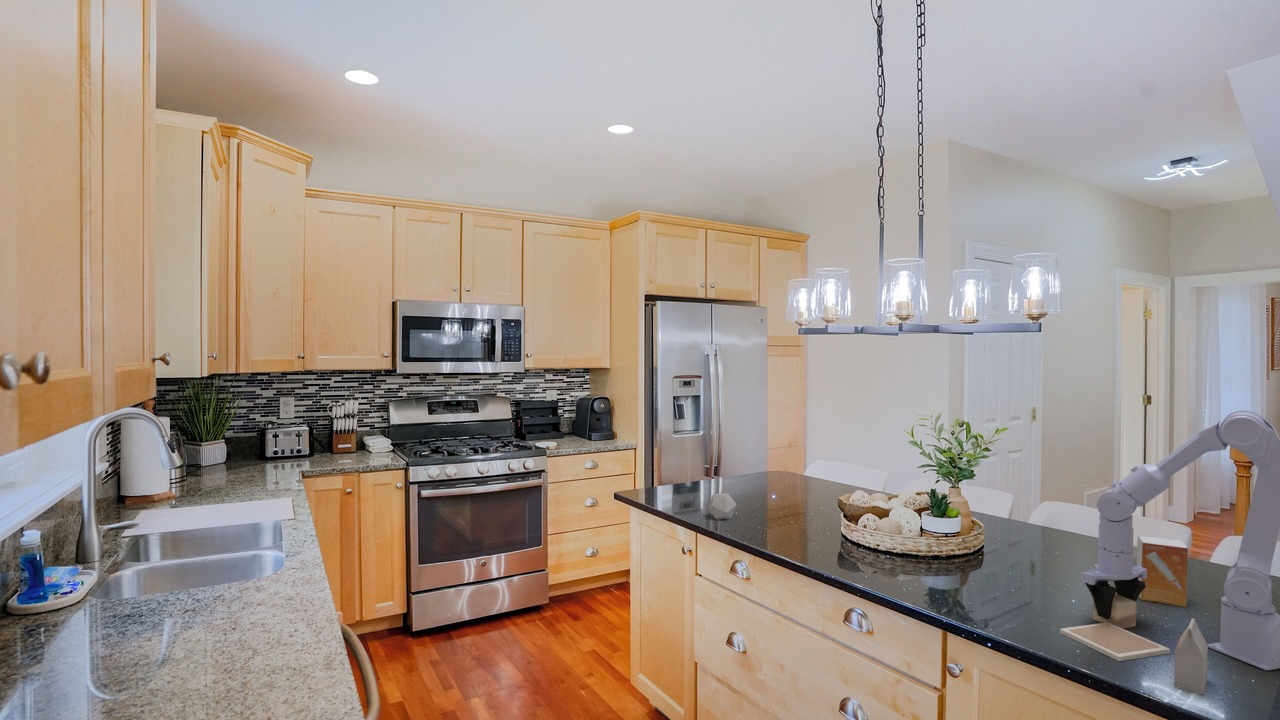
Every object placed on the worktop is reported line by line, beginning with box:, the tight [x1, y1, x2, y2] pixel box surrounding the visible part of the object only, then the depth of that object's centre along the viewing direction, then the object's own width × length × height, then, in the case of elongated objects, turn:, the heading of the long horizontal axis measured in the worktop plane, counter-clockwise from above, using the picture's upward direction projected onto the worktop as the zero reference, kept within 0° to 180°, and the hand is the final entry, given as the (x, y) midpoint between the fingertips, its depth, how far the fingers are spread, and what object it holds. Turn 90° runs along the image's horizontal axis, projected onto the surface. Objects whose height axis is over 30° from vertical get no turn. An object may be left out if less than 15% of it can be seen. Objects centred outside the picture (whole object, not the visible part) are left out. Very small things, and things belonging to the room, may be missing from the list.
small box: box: [1136, 535, 1189, 608], centre depth 145 cm, size 8×6×13 cm
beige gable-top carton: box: [1173, 617, 1209, 696], centre depth 109 cm, size 4×7×10 cm, turn 136°
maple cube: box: [1092, 593, 1137, 629], centre depth 133 cm, size 5×5×5 cm
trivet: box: [1059, 622, 1171, 662], centre depth 124 cm, size 12×12×1 cm
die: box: [707, 493, 737, 521], centre depth 213 cm, size 8×9×10 cm
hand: (1114, 615), depth 133 cm, fingers closed on maple cube, 5 cm apart
